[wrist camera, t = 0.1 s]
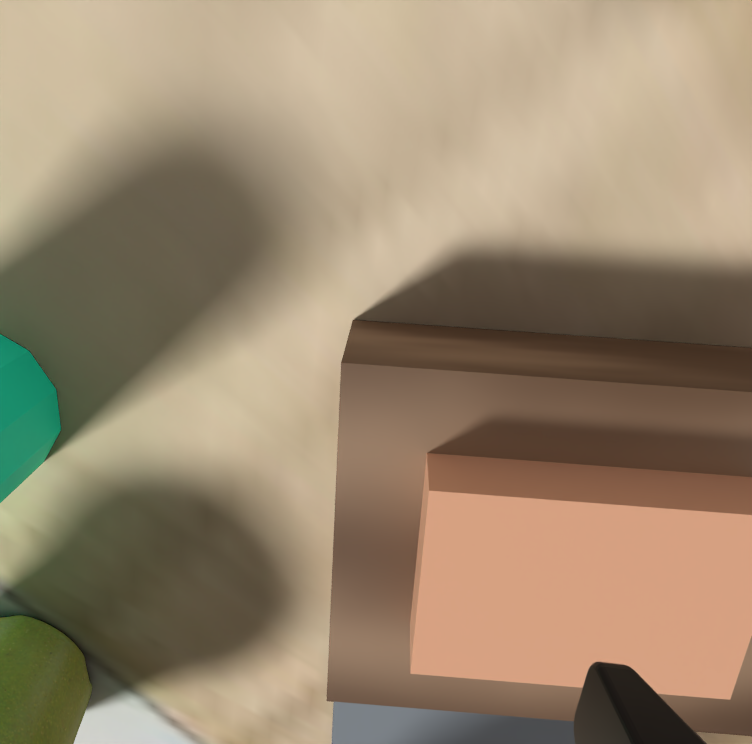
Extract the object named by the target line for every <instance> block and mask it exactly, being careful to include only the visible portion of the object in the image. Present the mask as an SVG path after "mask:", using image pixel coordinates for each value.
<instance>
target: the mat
mask: <svg viewBox="0 0 752 744" xmlns="http://www.w3.org/2000/svg"><path fill="white" fill-rule="evenodd" d="M332 744H575V740H574V721H563V720H551V719H539V718H526V717H514V716H502V715H490V714H478V713H466V712H454V711H442V710H429V709H417V708H405V707H393V706H381V705H369V704H357V703H345V702H334V707H333V727H332Z"/></svg>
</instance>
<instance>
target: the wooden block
mask: <svg viewBox="0 0 752 744" xmlns="http://www.w3.org/2000/svg"><path fill="white" fill-rule="evenodd" d="M427 453H434V454H447V455H461V456H474V457H488V458H501V459H515V460H528V461H542V462H555V463H568V464H582V465H595V466H609V467H622V468H636V469H649V470H663V471H676V472H689V473H703V474H716V475H730V476H743V477H752V348H745V347H730V346H716V345H702V344H688V343H673V342H659V341H645V340H631V339H617V338H602V337H588V336H574V335H560V334H545V333H531V332H517V331H503V330H489V329H474V328H460V327H446V326H432V325H417V324H403V323H389V322H375V321H361V320H353V322H352V326H351V329H350V333H349V337H348V340H347V344H346V348H345V351H344V355H343V359H342V362H341V382H340V405H339V428H338V452H337V475H336V498H335V521H334V544H333V567H332V590H331V614H330V637H329V660H328V683H327V701H332V702H345V703H357V704H369V705H381V706H393V707H405V708H417V709H429V710H442V711H454V712H466V713H478V714H490V715H502V716H514V717H526V718H539V719H551V720H563V721H574V716H575V711H576V708H577V705H578V702H579V698H580V695H581V692H582V688H580V687H567V686H555V685H543V684H530V683H518V682H506V681H493V680H481V679H469V678H457V677H444V676H432V675H420V674H410V620H411V609H412V599H413V589H414V579H415V569H416V559H417V549H418V538H419V528H420V518H421V508H422V498H423V488H424V477H425V467H426V457H427ZM658 695H659V696H660V697H661V698H662V699H663V700H664V701H665V702H666V703H667V704H668V705H669V706H670V707H671V708H672V709H673V710H674V711H675V712H676V713H677V714H678V715H679V716H680V717H681V718H682V719H683V720H684V721H685V722H686V723H687V724H688V725H689V726H690V727H691V728H692V729H693V730H694V731H696V732H708V733H720V734H733V735H745V736H752V636H751V639H750V642H749V645H748V648H747V651H746V654H745V657H744V660H743V663H742V666H741V669H740V672H739V675H738V678H737V681H736V684H735V687H734V690H733V693H732V696H731V699H730V700H727V699H715V698H702V697H690V696H678V695H666V694H658Z"/></svg>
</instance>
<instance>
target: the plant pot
mask: <svg viewBox="0 0 752 744" xmlns="http://www.w3.org/2000/svg"><path fill="white" fill-rule="evenodd" d="M91 692H92V685H91V683H90V681H89V677H88V672H87V668H86V663H85V657H84V655H83V653H82V652H81V651H80V649H79V648H78V647H77V646H76V645H75V644H74V643H73V642H72V641H71V640H70V639H69V638H68V637H67V636H66V635H65V634H63V633H62V632H60V631H59V630H57V629H55V628H54V627H52V626H50V625H48V624H46V623H44V622H42V621H40V620H37V619H34V618H31V617H27V616H23V615H17V616H11V617H2V618H0V744H73V743H74V740H75V737H76V735H77V732H78V729H79V727H80V724H81V721H82V719H83V716H84V713H85V710H86V708H87V705H88V702H89V699H90V696H91Z"/></svg>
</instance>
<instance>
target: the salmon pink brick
mask: <svg viewBox="0 0 752 744" xmlns="http://www.w3.org/2000/svg"><path fill="white" fill-rule="evenodd" d="M751 636H752V477H743V476H730V475H716V474H703V473H689V472H676V471H663V470H649V469H636V468H622V467H609V466H595V465H582V464H568V463H555V462H542V461H528V460H515V459H501V458H488V457H474V456H461V455H447V454H434V453H427V457H426V467H425V477H424V488H423V498H422V508H421V518H420V528H419V538H418V549H417V559H416V569H415V579H414V589H413V599H412V609H411V620H410V674H420V675H432V676H444V677H457V678H469V679H481V680H493V681H506V682H518V683H530V684H543V685H555V686H567V687H580V688H583V685H584V682H585V678H586V675H587V672H588V669H589V667H590V666H591V665H592V664H593V663H594V662H607V663H615V664H624V665H627V666H629V667H631V668H632V669H633V670H635V671H636V672H637V673H638V674H639V675H640V676H641V677H642V678H643V679H644V680H645V681H646V682H647V683H648V684H649V685H650V687H651V688H652V689H653V690H654V691H655V692H656V693H657V694H666V695H678V696H690V697H702V698H715V699H727V700H730V699H731V696H732V693H733V690H734V687H735V684H736V681H737V678H738V675H739V672H740V669H741V666H742V663H743V660H744V657H745V654H746V651H747V648H748V645H749V642H750V639H751Z"/></svg>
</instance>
